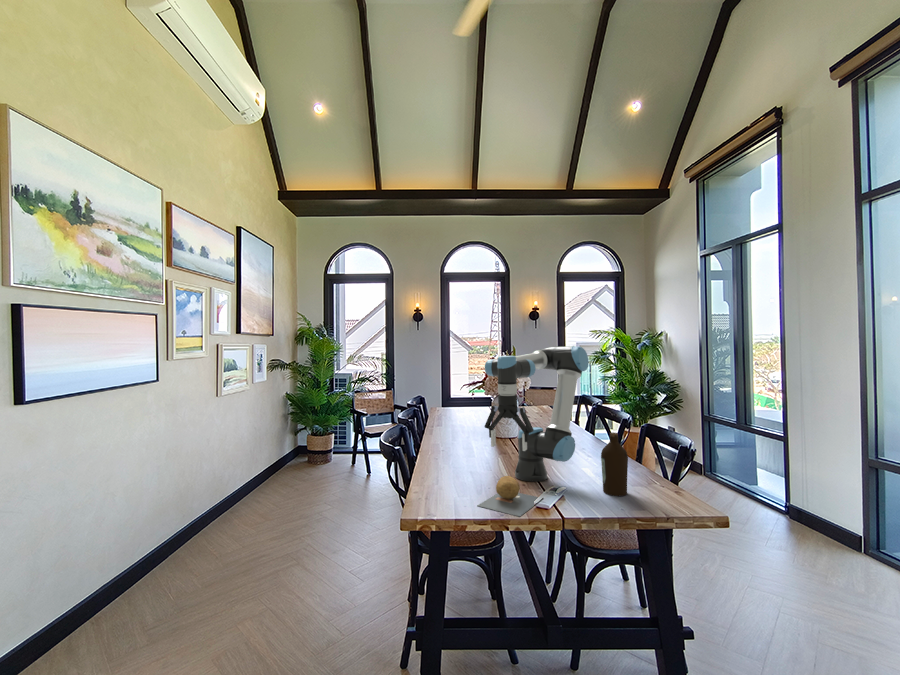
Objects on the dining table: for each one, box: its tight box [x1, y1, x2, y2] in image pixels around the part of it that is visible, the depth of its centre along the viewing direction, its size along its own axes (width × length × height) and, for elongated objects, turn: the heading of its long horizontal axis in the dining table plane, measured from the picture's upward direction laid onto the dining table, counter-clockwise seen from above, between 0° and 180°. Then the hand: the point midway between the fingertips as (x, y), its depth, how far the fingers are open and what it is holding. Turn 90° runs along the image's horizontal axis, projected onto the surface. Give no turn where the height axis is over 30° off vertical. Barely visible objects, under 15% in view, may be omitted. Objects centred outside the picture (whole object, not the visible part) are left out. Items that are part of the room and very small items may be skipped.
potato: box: [495, 475, 521, 499], centre depth 166 cm, size 10×14×8 cm
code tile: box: [477, 492, 539, 518], centre depth 161 cm, size 22×18×1 cm
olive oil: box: [600, 431, 629, 497], centre depth 173 cm, size 11×11×25 cm
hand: (508, 448), depth 162 cm, fingers open, 13 cm apart
